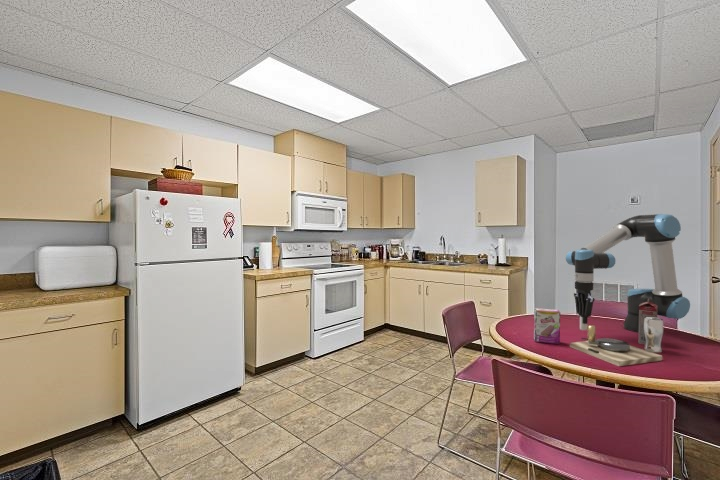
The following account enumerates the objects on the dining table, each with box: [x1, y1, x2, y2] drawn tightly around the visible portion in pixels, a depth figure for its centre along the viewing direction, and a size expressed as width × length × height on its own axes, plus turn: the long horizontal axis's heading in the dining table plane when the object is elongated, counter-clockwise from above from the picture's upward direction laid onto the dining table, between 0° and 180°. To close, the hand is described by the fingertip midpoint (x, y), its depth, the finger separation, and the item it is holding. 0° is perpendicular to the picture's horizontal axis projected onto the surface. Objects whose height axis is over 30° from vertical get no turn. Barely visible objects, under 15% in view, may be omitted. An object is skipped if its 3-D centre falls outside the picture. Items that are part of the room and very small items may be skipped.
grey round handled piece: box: [580, 324, 630, 352], centre depth 156 cm, size 18×12×9 cm, turn 69°
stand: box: [569, 340, 663, 367], centre depth 154 cm, size 24×24×3 cm
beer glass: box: [644, 317, 664, 354], centre depth 157 cm, size 7×7×15 cm
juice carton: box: [638, 298, 658, 346], centre depth 167 cm, size 7×7×22 cm
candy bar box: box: [533, 307, 561, 345], centre depth 170 cm, size 11×5×16 cm, turn 71°
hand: (583, 329), depth 164 cm, fingers closed
